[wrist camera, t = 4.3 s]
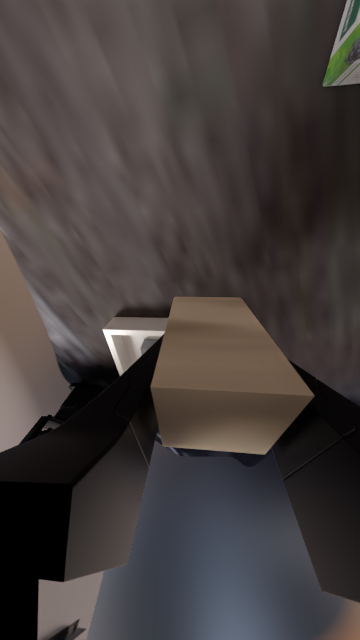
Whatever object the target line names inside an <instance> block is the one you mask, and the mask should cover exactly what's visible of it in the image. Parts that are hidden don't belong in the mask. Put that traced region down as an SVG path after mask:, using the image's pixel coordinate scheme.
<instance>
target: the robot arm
mask: <svg viewBox="0 0 360 640" xmlns="http://www.w3.org/2000/svg"><path fill="white" fill-rule="evenodd" d="M164 334H165V333H164ZM164 334H163V335H162V336H161V337H160V338H159V339H158V340H157V341H156V342H155V343H154V344H153V345H152V346H151V347H150V348H149V349H148V350H147V351H146V352H145V353H144V354H143V355H142V356H141V357H140V358H139V359H137V360H136V361H135V362H134V363H133V364H132V365H131V366H130V367H129V368H128V369H127V371H125V372H124V373H123V374H122V375H121V376H120V377H119V378H118V379H117V380H115V381H114V382H113V383H112V384H111V385H110V386H109V387H108V388H106V389H105V390H104V391H103V392H102V390H101V388H100V387H99V386H89V385H70V386H69V389H70V390H71V393H70V394H69V396H68V397H67V399H66V400H65V401H64V402H63V404H62V405H61V407H60V409H59V411H58V412H57V414H56V415H55V416H54V417H53V416H52V415H48V416H42V417H41V418H40V419H39V420H38V422H37V423H36V424H35V425H34V427H33V428H32V429H31V430H30V431H29V433H28V434H27V435H26V436H25V437H24V439H23V440H22V441H21V442H20V444H19V445H17V446H15V447H13V448H10V449H8V450H5V451H3V452H1V453H0V640H86V639H87V634H88V631H89V626H90V623H91V619H92V615H93V611H94V608H95V603H96V600H97V596H98V592H99V588H100V584H101V580H102V576H103V573H104V571H105V570H109V569H113V568H116V567H120V566H124V565H127V563H128V558H129V554H130V550H131V545H132V540H133V536H134V532H135V527H136V523H137V518H138V514H139V510H140V505H141V501H142V496H143V492H144V488H145V483H146V478H147V474H148V469H149V468H148V467H149V465H150V461H151V456H152V452H153V447H154V443H155V439H156V434H157V430H158V421H157V416H156V411H155V406H154V401H153V397H152V392H151V383H152V380H153V376H154V372H155V368H156V364H157V360H158V357H159V353H160V349H161V345H162V341H163V337H164ZM287 360H288V359H287ZM288 361H289V362H290V364H291V365H292V366H293V368H294V369H295V370H296V372H297V373H298V374H299V376H300V377H301V378H302V380H303V381H304V382H305V384H306V385H307V386H308V388H309V389H310V390H311V392H312V393H313V394H314V397H313V398H312V400H311V401H310V402H309V403H308V404H307V405H306V407H305V408H304V409H303V410H302V411H301V413H300V414H299V415H298V416H297V417H296V418H295V420H294V421H293V422H292V423H291V424H290V426H289V427H288V428H287V429H286V430H285V431H284V433H283V434H282V435H281V436H280V437H279V438H278V440H277V441H276V442H275V443H274V444H273V446H272V447H271V448H272V451H273V453H274V456H275V459H276V462H277V465H278V468H279V470H280V473H281V476H282V479H283V482H284V485H285V488H286V491H287V494H288V497H289V499H290V502H291V505H292V508H293V511H294V514H295V516H296V519H297V522H298V525H299V528H300V531H301V534H302V537H303V540H304V542H305V545H306V548H307V551H308V554H309V556H310V560H311V562H312V565H313V568H314V571H315V574H316V577H317V579H318V582H319V585H320V587H321V590H322V591H323V592H325V593H329V594H332V595H335V596H338V597H342V598H345V599H348V600H351V601H354V602H358V603H360V406H358V405H357V404H355V403H354V402H352V401H350V400H349V399H347V398H345V397H344V396H342V395H341V394H339V393H338V392H336V391H335V390H333V389H332V388H330V387H328V386H327V385H325V384H324V383H323V382H321V381H320V380H318V379H317V380H316V378H315V377H314V376H312V375H311V374H309V373H308V372H306V371H305V370H303V369H302V368H300V367H299V366H297V365H296V364H294V363H293V362H291V361H290V360H288ZM42 428H44V429H47V430H44V431H42Z"/></svg>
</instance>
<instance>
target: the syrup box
mask: <svg viewBox="0 0 360 640" xmlns="http://www.w3.org/2000/svg"><path fill="white" fill-rule="evenodd" d="M358 83H360V0H347V2H346V6H345V9H344V13H343V16H342V19H341V23H340V26H339V29H338V33H337V36H336V40H335V43H334V47H333V50H332V54H331V57H330V61H329V64H328V67H327V71H326V75H325V77H324V80H323V86H324V87H327V86H338V85H348V84H358Z"/></svg>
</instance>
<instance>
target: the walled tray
mask: <svg viewBox="0 0 360 640" xmlns="http://www.w3.org/2000/svg"><path fill="white" fill-rule="evenodd" d="M167 322H168V318H144V317H113V318H112V320H111V321H110V322H109V323H108V324H107V325H106V326H105V327H104V328H103V332H104V335H105V337H106V340H107V343H108V345H109V348H110V351H111V354H112V356H113V359H114V362H115V364H116V367H117V370H118V372H119V375H120V376H121V375H122V374H123V373H124V372H125V371H127V369H128V368H129V367H130V366H131V365H132V364H133V363H134V362H135V361H136V360H137V359H139V358H140V357H141V356H142V355H143V354H144V353H145V352H146V351H147V350H148V349H149V348H150V347H151V346H152V345H153V344H154V343H155V342H156V341H157V340H158V339H159V338H160V337H161V336H162V335H163V334H164V333H165V330H166V326H167Z"/></svg>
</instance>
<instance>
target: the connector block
mask: <svg viewBox="0 0 360 640" xmlns="http://www.w3.org/2000/svg"><path fill="white" fill-rule="evenodd" d="M151 392H152V397H153V401H154V406H155V411H156V416H157V421H158V425H159V430H160V435H161V440H162V444H163V446H166V447H178V448H191V449H203V450H216V451H228V452H241V453H253V454H266V453H267V451H268V450H269V449H270V448H271V447H272V446H273V444H274V443H275V442H276V441H277V440H278V438H279V437H280V436H281V435H282V434H283V433H284V431H285V430H286V429H287V428H288V427H289V426H290V424H291V423H292V422H293V421H294V420H295V418H296V417H297V416H298V415H299V414H300V413H301V411H302V410H303V409H304V408H305V407H306V405H307V404H308V403H309V402H310V401H311V400H312V398H313V397H314V394H313V393H312V392H311V390H310V389H309V388H308V386H307V385H306V384H305V382H304V381H303V380H302V378H301V377H300V376H299V374H298V373H297V372H296V370H295V369H294V368H293V366H292V365H291V364H290V362H289V361H288V360H287V358H286V357H285V356H284V354H283V353H282V352H281V350H280V349H279V348H278V346H277V345H276V344H275V342H274V341H273V340H272V338H271V337H270V336H269V334H268V333H267V332H266V330H265V329H264V328H263V326H262V325H261V324H260V322H259V321H258V320H257V318H256V317H255V316H254V314H253V313H252V312H251V310H250V309H249V308H248V306H247V305H246V304H245V302H244V301H243V300H242V298H241V297H174V299H173V303H172V307H171V311H170V315H169V318H168V322H167V326H166V330H165V334H164V337H163V341H162V345H161V349H160V353H159V357H158V360H157V364H156V368H155V372H154V376H153V380H152V383H151Z"/></svg>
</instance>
